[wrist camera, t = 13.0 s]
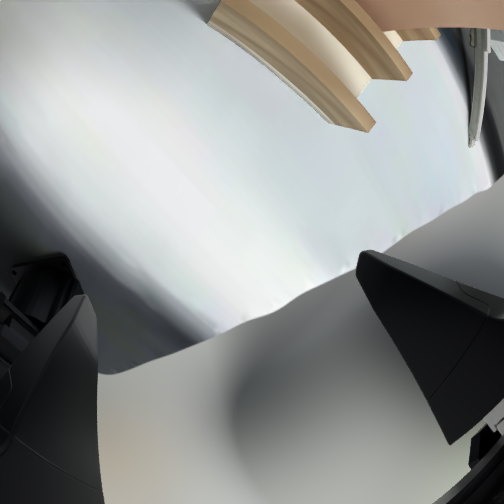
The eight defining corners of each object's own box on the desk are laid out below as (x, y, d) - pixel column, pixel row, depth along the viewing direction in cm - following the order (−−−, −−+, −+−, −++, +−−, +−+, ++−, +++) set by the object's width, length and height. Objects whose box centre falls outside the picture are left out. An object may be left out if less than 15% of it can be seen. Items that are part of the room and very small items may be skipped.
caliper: (448, -3, 14) (489, -4, 9) (453, -1, 14) (493, -1, 9) (467, 147, 26) (505, 162, 20) (470, 146, 26) (508, 161, 21)
